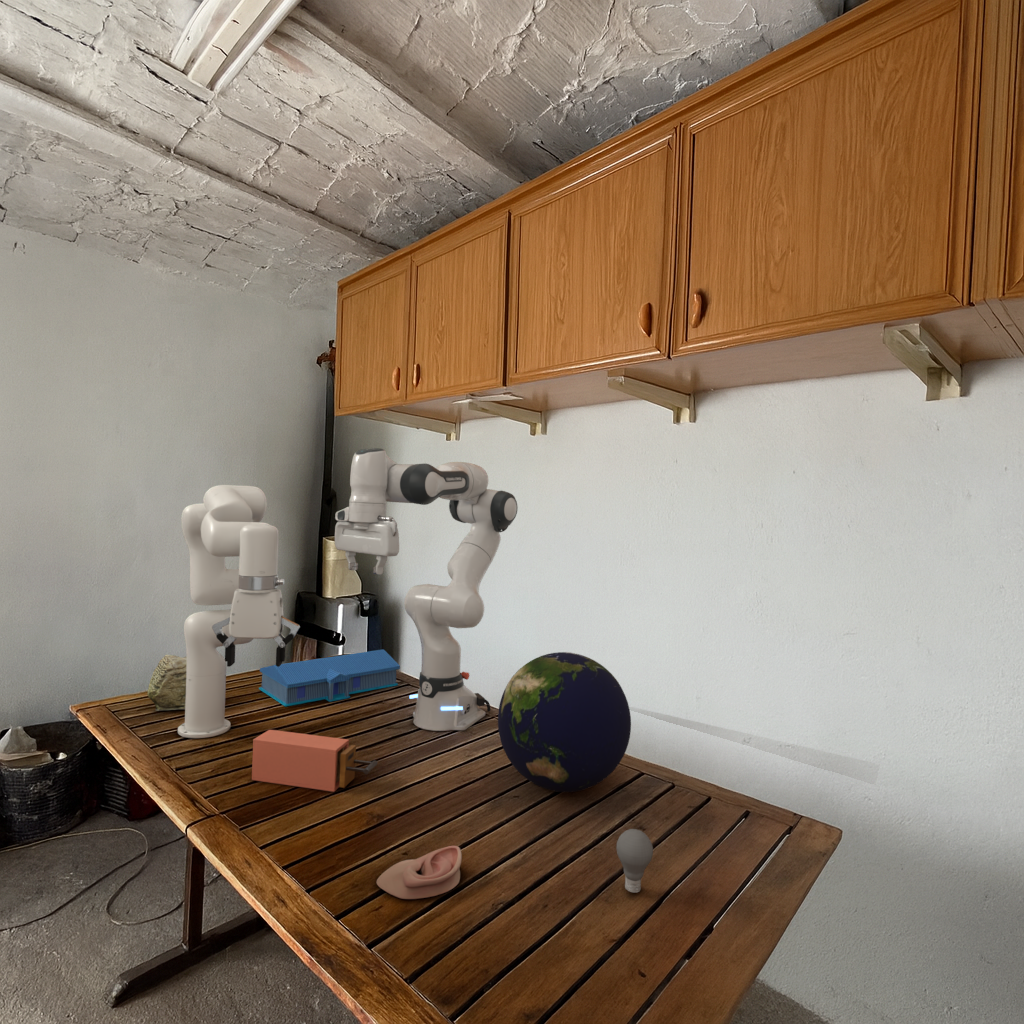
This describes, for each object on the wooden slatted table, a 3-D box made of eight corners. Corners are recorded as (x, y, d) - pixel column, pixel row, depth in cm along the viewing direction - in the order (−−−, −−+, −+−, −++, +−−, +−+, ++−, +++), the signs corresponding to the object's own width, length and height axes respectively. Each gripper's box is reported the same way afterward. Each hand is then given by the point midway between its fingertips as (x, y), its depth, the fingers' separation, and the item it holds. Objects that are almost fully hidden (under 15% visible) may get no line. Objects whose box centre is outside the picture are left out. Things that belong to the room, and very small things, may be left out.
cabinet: (347, 779, 142) (349, 739, 142) (334, 791, 136) (335, 750, 136) (268, 768, 146) (269, 729, 146) (251, 780, 140) (253, 739, 140)
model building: (289, 709, 186) (291, 675, 185) (258, 688, 204) (259, 657, 204) (403, 687, 212) (405, 657, 212) (366, 670, 230) (368, 643, 230)
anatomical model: (369, 868, 102) (396, 832, 113) (368, 893, 102) (395, 854, 113) (448, 882, 99) (468, 844, 110) (447, 907, 99) (467, 866, 110)
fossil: (144, 707, 182) (145, 655, 182) (212, 696, 194) (213, 647, 194) (151, 716, 175) (153, 662, 175) (221, 703, 188) (223, 653, 188)
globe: (472, 799, 135) (478, 659, 135) (523, 750, 163) (528, 634, 162) (610, 832, 124) (617, 680, 124) (639, 773, 152) (645, 649, 151)
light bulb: (610, 879, 108) (613, 822, 108) (644, 879, 109) (647, 822, 109) (619, 902, 102) (622, 840, 102) (655, 901, 103) (658, 840, 103)
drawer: (377, 780, 140) (378, 748, 140) (367, 791, 135) (368, 757, 135) (278, 767, 145) (279, 735, 145) (265, 776, 140) (266, 743, 140)
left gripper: (303, 582, 138) (301, 660, 138) (219, 580, 135) (217, 660, 135) (297, 586, 130) (294, 669, 131) (208, 585, 128) (205, 669, 128)
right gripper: (406, 517, 149) (404, 575, 149) (351, 513, 162) (349, 567, 162) (386, 517, 144) (383, 577, 144) (331, 512, 157) (328, 568, 157)
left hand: (255, 664), depth 133 cm, fingers open, 9 cm apart
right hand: (365, 572), depth 153 cm, fingers open, 8 cm apart
